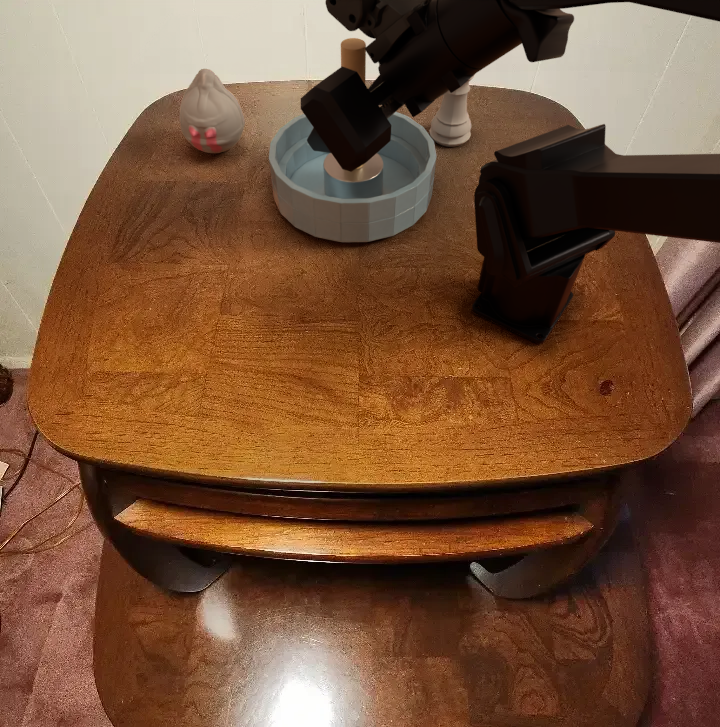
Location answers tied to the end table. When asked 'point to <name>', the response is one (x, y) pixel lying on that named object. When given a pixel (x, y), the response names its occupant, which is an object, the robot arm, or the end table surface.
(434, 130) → the rook chess piece
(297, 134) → the bowl
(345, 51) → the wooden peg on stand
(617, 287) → the end table surface
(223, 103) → the figurine
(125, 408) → the end table surface
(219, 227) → the end table surface
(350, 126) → the robot arm
